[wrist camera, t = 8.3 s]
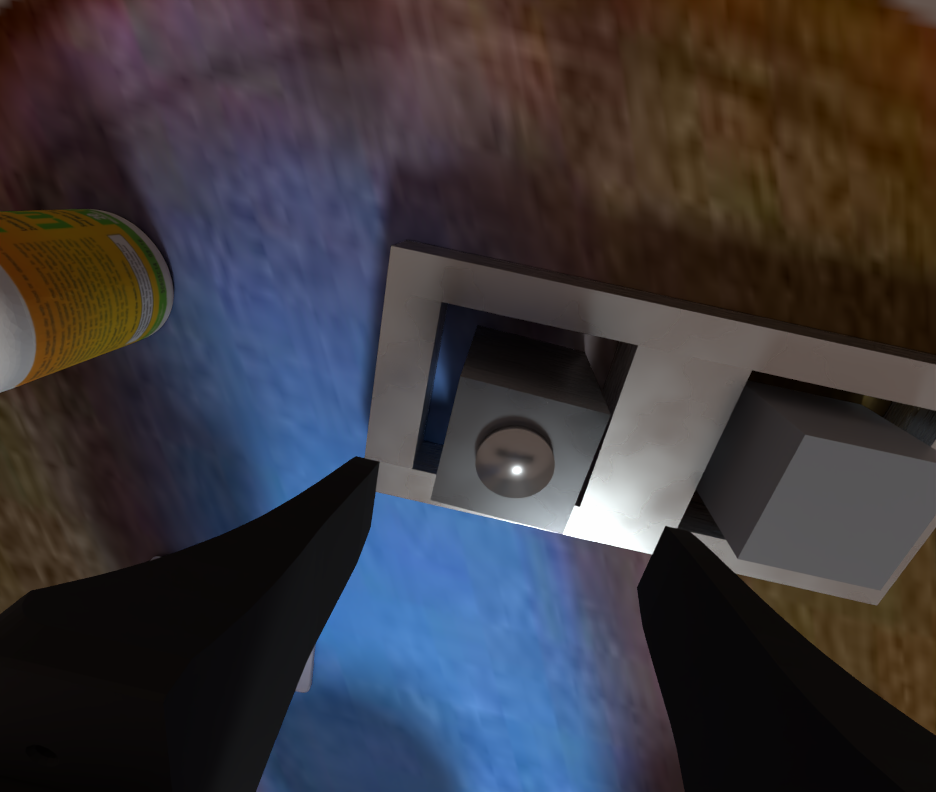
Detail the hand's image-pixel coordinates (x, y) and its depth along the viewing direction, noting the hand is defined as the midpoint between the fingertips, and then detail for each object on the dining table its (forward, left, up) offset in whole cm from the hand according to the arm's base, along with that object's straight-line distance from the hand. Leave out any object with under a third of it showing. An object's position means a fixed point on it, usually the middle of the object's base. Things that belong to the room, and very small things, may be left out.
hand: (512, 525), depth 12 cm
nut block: (0, 0, -9) cm, 9 cm away
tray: (+6, 0, -9) cm, 11 cm away
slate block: (+11, 0, -9) cm, 14 cm away
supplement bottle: (-17, +1, -9) cm, 20 cm away
